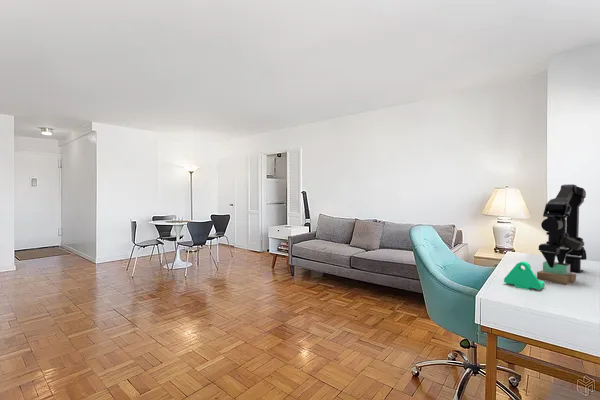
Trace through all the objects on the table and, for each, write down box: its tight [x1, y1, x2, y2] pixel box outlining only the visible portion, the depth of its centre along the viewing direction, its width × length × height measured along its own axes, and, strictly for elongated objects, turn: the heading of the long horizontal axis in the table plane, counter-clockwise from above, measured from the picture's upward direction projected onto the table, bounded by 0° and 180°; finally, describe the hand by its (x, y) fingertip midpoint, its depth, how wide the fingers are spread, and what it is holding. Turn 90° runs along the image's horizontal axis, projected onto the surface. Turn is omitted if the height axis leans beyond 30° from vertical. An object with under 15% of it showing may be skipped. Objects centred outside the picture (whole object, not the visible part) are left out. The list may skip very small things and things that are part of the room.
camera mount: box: [503, 261, 545, 290], centre depth 122 cm, size 12×8×10 cm, turn 40°
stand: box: [536, 269, 577, 286], centre depth 130 cm, size 10×10×3 cm
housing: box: [542, 260, 571, 276], centre depth 130 cm, size 5×8×4 cm, turn 36°
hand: (556, 266), depth 130 cm, fingers open, 9 cm apart
